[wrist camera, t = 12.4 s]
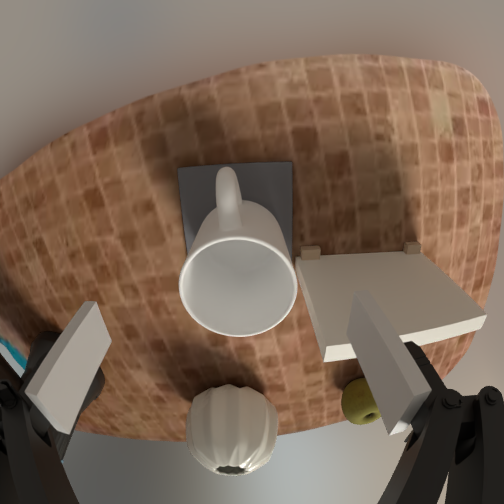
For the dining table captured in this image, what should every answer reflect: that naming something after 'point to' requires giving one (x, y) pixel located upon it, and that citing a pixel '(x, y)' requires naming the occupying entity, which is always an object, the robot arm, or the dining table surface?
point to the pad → (251, 188)
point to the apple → (359, 403)
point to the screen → (383, 296)
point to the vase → (231, 429)
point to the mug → (238, 266)
